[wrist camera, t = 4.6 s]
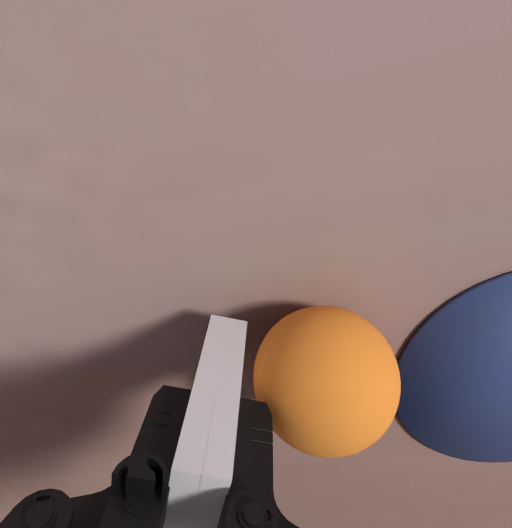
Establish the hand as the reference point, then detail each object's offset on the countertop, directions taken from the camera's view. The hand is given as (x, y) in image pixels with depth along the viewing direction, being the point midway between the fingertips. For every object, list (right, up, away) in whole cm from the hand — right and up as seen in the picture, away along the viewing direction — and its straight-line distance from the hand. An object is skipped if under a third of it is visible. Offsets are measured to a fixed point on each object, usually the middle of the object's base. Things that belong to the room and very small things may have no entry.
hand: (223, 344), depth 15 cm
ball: (+4, -1, -1) cm, 4 cm away
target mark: (+14, -2, +2) cm, 14 cm away
